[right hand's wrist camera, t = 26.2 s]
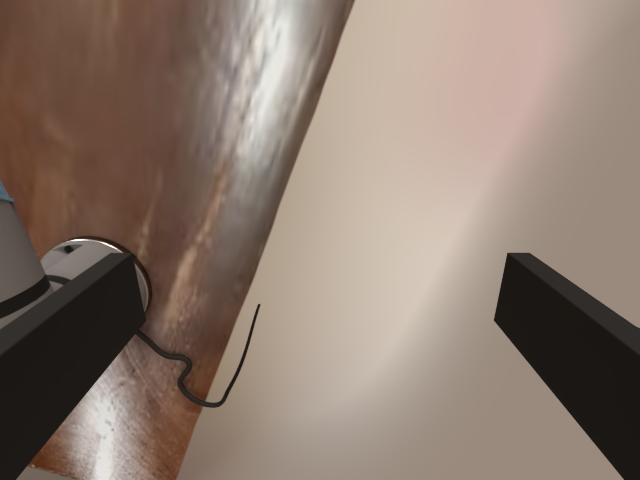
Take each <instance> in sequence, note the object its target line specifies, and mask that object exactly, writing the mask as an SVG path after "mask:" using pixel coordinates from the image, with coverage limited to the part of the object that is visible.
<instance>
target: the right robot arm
mask: <svg viewBox="0 0 640 480" xmlns="http://www.w3.org/2000/svg"><path fill="white" fill-rule="evenodd" d="M14 204H15V201H14V200H13V198H11V197H9V195H8V193H7V192H6V190H5V188H4V186H3V184H2V182H1V180H0V480H16V479H17V478H18V476H19V475H20V474H21V473H22V471H23V470H24V469H25V468H26V467H27V465H28V464H29V463H30V462H31V460H32V459H33V458H34V457H35V456H36V454H37V453H38V452H39V451H40V449H41V448H42V447H43V446H44V445H45V443H46V442H47V441H48V440H49V438H50V437H51V436H52V435H53V434H54V432H55V431H56V430H57V429H58V427H59V426H60V425H61V424H62V423H63V421H64V420H65V419H66V418H67V416H68V415H69V414H70V413H71V412H72V410H73V409H74V408H75V407H76V405H77V404H78V403H79V402H80V401H81V399H82V398H83V397H84V396H85V394H86V393H87V392H88V391H89V390H90V388H91V387H92V386H93V385H94V383H95V382H96V381H97V380H98V379H99V377H100V376H101V375H102V374H103V372H104V371H105V370H106V369H107V368H108V366H109V365H110V364H111V363H112V361H113V360H114V359H115V358H116V357H117V355H118V354H119V353H120V352H121V350H122V349H123V348H124V347H125V346H126V344H127V343H128V342H129V341H130V339H131V338H132V337H133V336H134V334H136V335H137V336H139V337H140V338H141V339H142V340H143V341H145V342H146V343H147V344H148V345H149V346H150V347H151V348H152V349H153V350H154V351H155V352H157V353H158V354H159V355H161V356H163V357H165V358H167V359H173V360H182V361H184V362H185V363H186V364H187V368H186V370H185V371H184V372H183V373H182V374H181V376H180V377H179V379H178V387H179V389H180V390H181V392H182V393H183V394H184V395H185V396H186V397H187V398H188V399H189V400H191V401H192V402H194V403H196V404H198V405H201V406H205V407H212V408H215V407H219V406H221V405H222V404H223V403H224V402H225V401H226V399H227V397H228V394H229V392H230V390H231V389H232V387H233V385H234V383H235V381H236V379H237V377H238V375H239V373H240V370H241V368H242V365H243V363H244V360H245V357H246V354H247V350H248V347H249V344H250V340H251V337H252V333H253V329H254V325H255V322H256V318H257V315H258V311H259V308H260V304H258V306H257V308H256V311H255V315H254V318H253V321H252V325H251V328H250V332H249V336H248V339H247V342H246V346H245V349H244V352H243V355H242V358H241V361H240V363H239V365H238V368H237V370H236V372H235V374H234V376H233V379H232V380H231V382H230V384H229V386H228V388H227V389H226V391H225V393H224V396H223V398H222V399H221V401H219V402H217V403H209V402H205V401H202V400H199V399H197V398H196V397H194V396H193V395H191V394H190V393H189V392H188V391H187V390H186V389H185V387H184V386H183V383H182V381H183V379H184V378H185V377H186V376H187V374H188V373H189V372H190V370H191V368H192V363H191V361H190V360H189V359H188V358H187V357H185V356H182V355H172V354H168V353H166V352H164V351H163V350H161V349H160V348H159V347H158V346H157V345H156V344H155V343H154V342H153V341H152V340H151V339H149V338H148V337H147V336H146V335H145V334H144V333H142V332H141V331H140V330H139V328H140V327H141V326H142V325H143V323H144V322H145V321H146V318H145V312H146V311H147V309H148V307H149V304H150V301H151V294H152V291H151V283H150V280H149V277H148V274H147V272H146V270H145V269H144V267H143V266H142V264H141V263H140V262H139V260H138V259H137V258H136V257H135V256H134V255H133V253H131V252H129V251H128V250H127V249H125V248H124V247H122V246H121V245H119V244H117V243H115V242H112V241H110V240H107V239H104V238H99V237H92V236H82V237H76V238H72V239H69V240H67V241H65V242H63V243H61V244H59V245H57V246H56V247H54V248H53V249H51V250H50V251H49V252H48V253H47V254H46V255H45V256H44V257H43V258H42V259H41V261H40V260H39V258H38V256H37V254H36V251H35V249H34V247H33V245H32V243H31V241H30V239H29V237H28V234H27V232H26V230H25V228H24V226H23V224H22V222H21V219H20V217H19V215H18V213H17V211H16V209H15V207H14ZM494 321H495V322H496V323H497V325H498V326H499V327H500V328H501V330H502V331H503V332H504V333H505V334H506V336H507V337H508V338H509V339H510V341H511V342H512V343H513V344H514V346H515V347H516V348H517V349H518V350H519V352H520V353H521V354H522V355H523V357H524V358H525V359H526V360H527V361H528V363H529V364H530V365H531V366H532V367H533V369H534V370H535V371H536V372H537V374H538V375H539V376H540V377H541V379H542V380H543V381H544V382H545V383H546V385H547V386H548V387H549V388H550V390H551V391H552V392H553V393H554V394H555V396H556V397H557V398H558V399H559V401H560V402H561V403H562V404H563V405H564V407H565V408H566V409H567V410H568V412H569V413H570V414H571V415H572V416H573V418H574V419H575V420H576V421H577V423H578V424H579V425H580V426H581V427H582V429H583V430H584V431H585V432H586V434H587V435H588V436H589V437H590V438H591V440H592V441H593V442H594V443H595V445H596V446H597V447H598V448H599V449H600V451H601V452H602V453H603V454H604V456H605V457H606V458H607V459H608V460H609V462H610V463H611V464H612V465H613V467H614V468H615V469H616V470H617V471H618V473H619V474H620V475H621V476H622V478H623V479H624V480H640V328H638V327H636V326H634V325H633V324H631V323H630V322H628V321H627V320H626V319H624V318H623V317H621V316H620V315H618V314H617V313H615V312H614V311H613V310H611V309H610V308H608V307H607V306H605V305H604V304H602V303H601V302H600V301H598V300H597V299H595V298H594V297H592V296H591V295H589V294H588V293H587V292H585V291H584V290H582V289H581V288H579V287H578V286H577V285H575V284H574V283H572V282H571V281H569V280H568V279H566V278H565V277H563V276H562V275H561V274H559V273H558V272H556V271H555V270H553V269H552V268H551V267H549V266H548V265H546V264H545V263H543V262H542V261H540V260H539V259H538V258H536V257H535V256H533V255H532V254H530V253H507V258H506V263H505V268H504V273H503V278H502V283H501V288H500V293H499V298H498V303H497V308H496V313H495V318H494Z"/></svg>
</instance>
